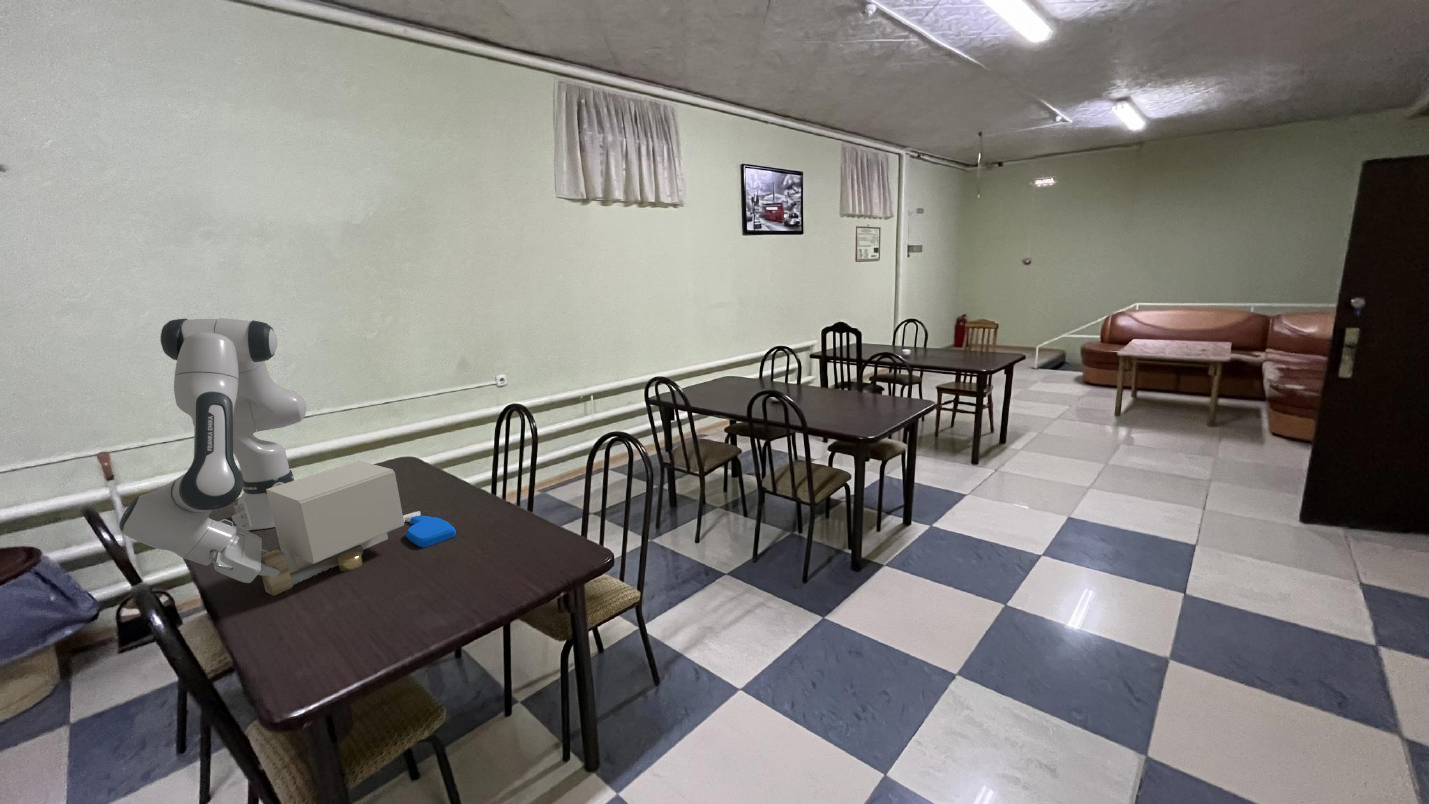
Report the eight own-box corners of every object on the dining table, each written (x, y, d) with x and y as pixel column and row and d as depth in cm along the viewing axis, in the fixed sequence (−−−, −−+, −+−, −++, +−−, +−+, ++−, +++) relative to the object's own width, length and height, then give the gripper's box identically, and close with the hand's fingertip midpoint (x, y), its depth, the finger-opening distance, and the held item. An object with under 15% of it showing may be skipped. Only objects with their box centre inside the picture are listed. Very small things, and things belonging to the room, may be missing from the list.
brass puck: (335, 568, 142) (333, 558, 141) (356, 559, 146) (353, 549, 145) (346, 573, 139) (344, 562, 139) (366, 564, 144) (364, 553, 143)
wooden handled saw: (265, 591, 132) (256, 557, 130) (357, 551, 150) (351, 520, 148) (273, 595, 130) (264, 561, 128) (365, 554, 148) (359, 523, 146)
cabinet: (286, 570, 142) (266, 489, 136) (374, 533, 160) (359, 460, 155) (319, 587, 133) (299, 501, 128) (408, 546, 152) (394, 469, 146)
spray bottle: (458, 526, 156) (425, 505, 173) (417, 541, 149) (386, 517, 165) (460, 536, 157) (426, 514, 174) (419, 551, 150) (388, 526, 166)
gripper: (220, 548, 117) (288, 574, 125) (225, 516, 133) (286, 540, 141) (197, 575, 115) (267, 599, 123) (205, 539, 131) (268, 563, 139)
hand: (277, 567), depth 132 cm, fingers closed on wooden handled saw, 5 cm apart
